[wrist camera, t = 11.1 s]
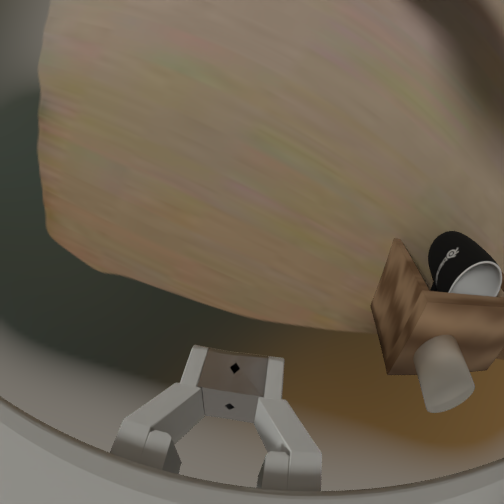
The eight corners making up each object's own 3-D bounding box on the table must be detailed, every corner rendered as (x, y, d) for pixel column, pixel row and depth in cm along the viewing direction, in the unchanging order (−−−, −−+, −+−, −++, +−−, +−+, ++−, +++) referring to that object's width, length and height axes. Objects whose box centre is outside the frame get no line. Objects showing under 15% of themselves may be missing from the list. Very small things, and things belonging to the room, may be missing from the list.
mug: (439, 213, 35) (473, 251, 26) (479, 234, 35) (513, 272, 27) (400, 281, 41) (419, 329, 33) (440, 295, 42) (463, 340, 33)
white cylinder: (426, 334, 28) (443, 383, 23) (464, 334, 28) (484, 379, 22) (405, 367, 32) (416, 414, 26) (442, 366, 31) (456, 409, 25)
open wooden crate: (394, 238, 38) (427, 302, 26) (487, 254, 37) (528, 308, 25) (370, 305, 44) (387, 374, 32) (458, 312, 43) (486, 370, 31)
